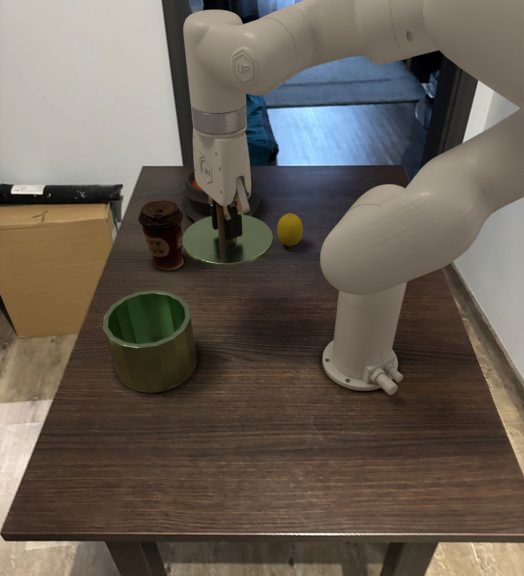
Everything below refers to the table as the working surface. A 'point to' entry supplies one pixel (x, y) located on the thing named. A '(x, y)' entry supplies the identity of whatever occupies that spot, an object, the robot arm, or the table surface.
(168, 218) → the coffee cup
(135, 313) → the tin
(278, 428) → the table surface
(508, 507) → the table surface
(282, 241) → the lemon
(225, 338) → the table surface
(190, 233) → the tin lid
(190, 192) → the casserole
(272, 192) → the table surface
